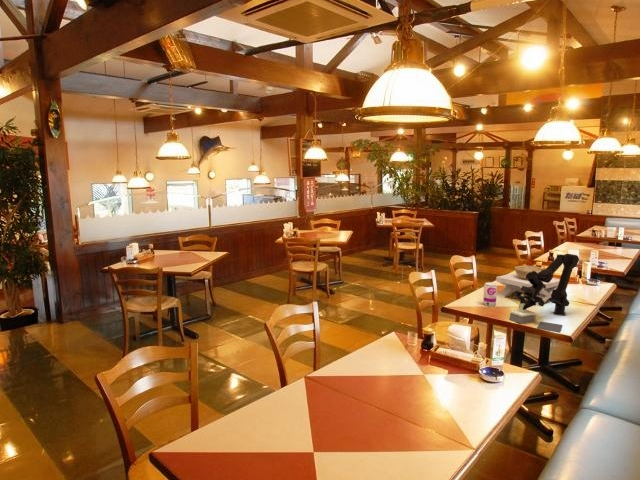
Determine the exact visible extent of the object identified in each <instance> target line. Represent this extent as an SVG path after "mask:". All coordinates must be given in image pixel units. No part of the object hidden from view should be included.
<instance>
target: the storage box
mask: <svg viewBox="0 0 640 480" xmlns="http://www.w3.org/2000/svg"><path fill="white" fill-rule="evenodd" d="M509 320H510V321H512V322H515V323H517V324H520V325H524V324H529V323H534V322H535V321H536V314H535V315H532V316H526V317H520V316H517V315H514V314H512V313H510V312H509Z"/></svg>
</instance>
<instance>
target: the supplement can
mask: <svg viewBox="0 0 640 480" xmlns="http://www.w3.org/2000/svg"><path fill="white" fill-rule="evenodd" d="M497 291H498V285H497V283H495V282H489V281H488V282H485V283H484V285H483V301H482V304H483V305H484V306H486V305H487V306H486V307H495V306H497V296H496V295H497V294H498V293H497Z"/></svg>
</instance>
